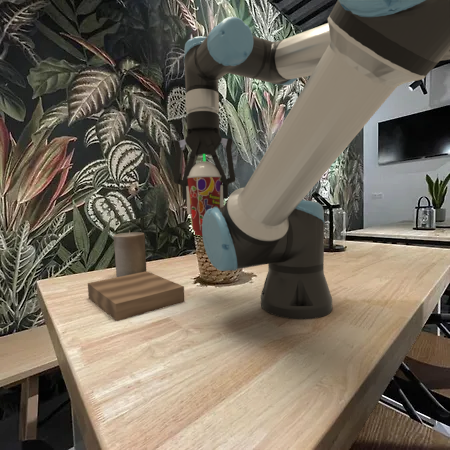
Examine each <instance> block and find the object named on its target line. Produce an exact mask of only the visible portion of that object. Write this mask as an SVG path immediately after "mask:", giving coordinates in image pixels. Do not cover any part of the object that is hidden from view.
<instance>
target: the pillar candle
mask: <svg viewBox="0 0 450 450" xmlns="http://www.w3.org/2000/svg"><path fill="white" fill-rule="evenodd" d="M145 236H146V235H145V233H144V232H140V231H139V232H138V231H135V232H133V231H132V232H131V230H130V229H129V230H128V232H124V233H123V232H122V233H116V234H114V235H113V245H114V247H113V248H114V258H115V259H114V260H115V272H116V273H115V274H116V276H115V277H121V276H126V275H131V274H136V273H141V272H146V271H147V258H146V257H147V256H146V254H147V253H146V237H145Z"/></svg>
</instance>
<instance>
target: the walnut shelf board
mask: <svg viewBox="0 0 450 450" xmlns="http://www.w3.org/2000/svg"><path fill="white" fill-rule="evenodd" d="M87 292H88V293H87V294H88V299H89V300H90V301H91V302H92V303H94V304H95V305H96V306H97V307H99V309H101V310H102V311H104V312H105V313H106V314H107V315H108V316H110V317H111V318H112V319H113V320H115V321H116V322H118V321H123V320H125V319H130V318H133V317H137V316H139V315H143V314H147V313H150V312H154V311H157V310H161V309H165V308H167V307H172V306H174V305H179V304H182V303H185V286H184V285H181V284H179V283H176V282H174V281H172V280H170V279H166V278H164V277H161V276H159V275H156V274H155V273H152V272H150V271H148V270H146V272H141V273H136V274H131V275H126V276H121V277H117V276H115V277H111V278H106V279H102V280H95V281H91V282H87Z"/></svg>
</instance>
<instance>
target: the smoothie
mask: <svg viewBox="0 0 450 450" xmlns="http://www.w3.org/2000/svg"><path fill="white" fill-rule="evenodd" d="M206 156H207V155H206V154H203V155H202V161H199V162H196V163H195V165H194V166H193V167H192V169H191V171H190V173H189V176H187V178H188V187H189V197H190V209H191V214H190V217H191V226H192V227H191V228H192V230H193V231H194V235H195V236H202V237H203V235H202V221H203V217H204V214H205V212H206V211H207V210H208V209H211V208H214V207H217V208H220V187H221V185H223V183H222V180H221V175H220V173H219V171H218V169H217V168H216V166H215V163H214V162H213V163H212V162H210V161H208V160H207V159H206Z"/></svg>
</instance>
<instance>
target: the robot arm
mask: <svg viewBox="0 0 450 450" xmlns="http://www.w3.org/2000/svg"><path fill="white" fill-rule="evenodd" d="M183 51H184V55H183V64H184V81H185V82H184V83H185V111H186V113H187V115H186V136H185V138H184V139H181V140H177V139H176V140H174V142H173V144H174V149H175V158H174V159H175V160H174V170H173V173H174V174H173V183H174V184H177V185H180V186H181V192H182V193H181V195H182V200H183V201H185V200H186V212H187V215H191V209H190V197H189V187H188V178H187V176H189V173H190V171H191V169H192V167H193V166H194V165H195V164H197V160H198V158H199V157H203V154H206V156H211V158H212V161H213V164H214V165H215V166H216V168H217V169H218V171H219V173H220V175H221V180H222V185H221V187H220V208H217V207H214V208H211V209H208V210H207V211H206V212H205V214H204V217H203V221H202V235H203V236H202V242H203V246H204V250H205V254H206V256H207V258H208V261H209V262H210V263H211V265H212V267H214V268H215V269H217V270H218V271H221V272H226V271H229V272H230V271H233V272H235V271H238V270H241V269H246V268H247V269H248V268H251V267H257V266H263V265H268V270H267V273H266V276H265V280H264V284H263V287H262V291H261V294H260V305H261V308H262V309H263V311H265V312H267V313H269V314H271V315H275V316H277V317H281V318H285V319H290V320H312V319H319V318H322V317H326V316H327V315H329V314H330V313H331V312H332V311H333V297H332V294H331V292H330V288H329V285H328V281H327V278H326V275H325V271H324V270H325V269H324V265H325V264H324V260H325V259H324V258H325V253H324V252H325V224H326V220H325V217H324V215H325V214H324V207H323V205H322V204H321V203H320V202H317V201H313V200H307V199H305V197H306V196H307V195H308V194H309V192H310V191H311V190H312V189H313V188H314V186H315V185H316V184H317V183H318V182H319V181H320V179H321V178H322V177H323V176H324V175H325V174H326V172H327V171H328V170H329V169H330V167H332V165H333V164H334V163H335V161H336V160H337V159H338V158H339V157H340V156H341V154H342V153H343V152H344V151H345V149H346V148H347V147H348V146H349V145H350V143H351V142H352V141H353V140H354V139H355V138H356V136H358V134H359V133H360V132H361V131H362V129H363V128H364V127H365V126H366V124H367V123H368V122H370V119H372V118H373V116H374V115H375V114H376V113H377V111H378V110H379V109H380V108H381V107H382V106H383V104H384V103H385V102H386V101H387V99H388V98H389V97H390V96H391V95H392V94H393V92H394V91H395V90H396V89H397V88H398V87H399V86H401V85H404V84H407V83H412V82H416V81H420V80H421V81H422V80H423V79H425V78H426V77H427V76H428V75H429V73H430V72H431V71H432V70H433V69H434V68H435V67H436V66H437V65H438V63H439V62H441V61H447V60H448V61H449V60H450V0H337V1H336V3H335V5H334V6H333V8H332V10H331V12H330V14H329V16H328V17H327V23H324V24H322V25H319V26H316V27H314V28H311V29H307V30H305V31H303V32H299V33H297V34H295V35H292V36H290V37H289V36H288V37H287V38H284V39H280V40H278V41H271V40H268V39H264V38H261V37H259V36H255V35H253V33H252V30H251V28H250V26H249V25H248V24H246V23H245V22H244V20H243V19H241V18H240V17H238V16H228V17H226V18H224V19H223V20H221V21H220V22H219V23H218V24H217V25H216V26H214V27H213V28H212V29H211V30H210V32H209V34H207V36H201V35H199V36H195V37H193V38H189V39H188V40H187V41H186V42H185V44H184V50H183ZM228 74H229V75H235V76H240V77H243V78H249V79H253V80H257V81H261V82H262V81H263V82H266V83H270V84H273V85H276V86H281V85H282V86H290V85H292V84H293V83H294V82H295V81H297V79H301V78H304V77H309V78H308V80H307V82H306V83H305V84H304V86H303V88H302V90H301V91H300V93H299V95H298V97H297V98H296V100H295V102H294V103H293V105H292V107H291V109H290V110H289V112H288V114H287V116H286V117H285V119H284V120H283V122H282V124H281V126H280V127H279V129H278V131H277V132H276V134H275V136H274V138H273V139H272V141H271V142H270V144H269V146H268V148H267V149H266V151H265V153H264V155H263V156H262V158H261V160H260V161H259V162H258V164H257V166H256V168H255V170H254V171H253V172H252V174H251V176H250V178H249V179H248V181H247V183H246V185H245V186H244V187H240V188H237V189H235V190H234V191H233V192H231V193H230V195H229V185H230V184H232V183H235V182H236V174H235V168H234V167H235V166H234V159H233V153H232V148H233V143H234V142H233V141H234V140H233V139H232V138H231V137H230V138H225V137H224V138H223V137H222V134H221V133H220V131H221V130H220V115H219V114H218V113H219V112H220V102H219V100H220V99H219V98H220V97H219V80H220V79H222V78H223V77H224V76H226V75H228ZM221 144H222V147H223V148H224V149H225V154H226V159H227V168H228V175H229V177H228V178H227V177H226V173H225V171H224V169H223V166H222V163H221V162H220V158H219V156H218V154H217V149H218V148H219V146H220V145H221ZM186 145H187V146H188V148H189V149H190V150H191V151H190V154H189V159H188V162H187V165H186V167H185V171H184V174H183V177H182V173H183V171H182V170H183V159H184V158H183V157H184V150H185V149H186ZM225 199H226V202H225Z"/></svg>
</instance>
